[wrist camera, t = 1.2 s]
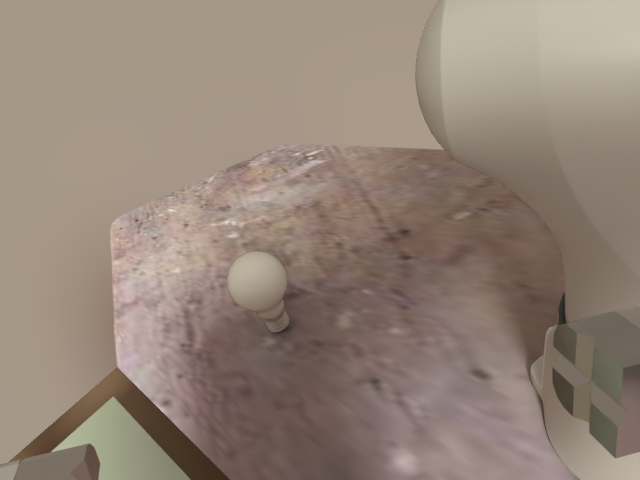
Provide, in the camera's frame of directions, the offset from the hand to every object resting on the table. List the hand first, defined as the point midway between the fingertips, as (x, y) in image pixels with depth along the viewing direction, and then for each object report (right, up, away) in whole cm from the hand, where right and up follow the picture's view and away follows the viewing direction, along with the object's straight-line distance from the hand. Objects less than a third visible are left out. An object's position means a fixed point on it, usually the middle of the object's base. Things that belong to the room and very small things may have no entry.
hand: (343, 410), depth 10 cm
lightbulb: (-5, -7, +58) cm, 59 cm away
